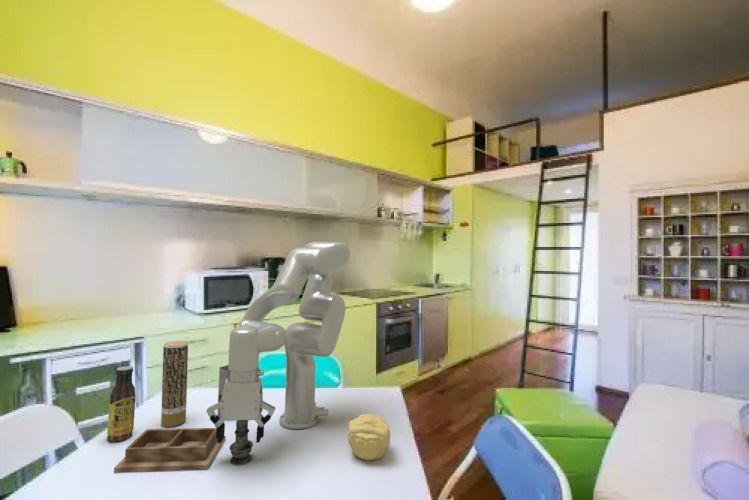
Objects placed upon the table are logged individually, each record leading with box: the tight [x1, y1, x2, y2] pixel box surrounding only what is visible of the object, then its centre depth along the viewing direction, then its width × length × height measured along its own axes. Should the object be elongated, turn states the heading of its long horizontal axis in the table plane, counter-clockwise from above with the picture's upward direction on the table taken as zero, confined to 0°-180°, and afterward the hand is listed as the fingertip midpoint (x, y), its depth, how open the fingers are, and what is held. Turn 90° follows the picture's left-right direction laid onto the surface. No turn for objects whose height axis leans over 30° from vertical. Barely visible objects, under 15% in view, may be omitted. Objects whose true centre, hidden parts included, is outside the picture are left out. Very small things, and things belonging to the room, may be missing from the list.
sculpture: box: [347, 412, 391, 461], centre depth 98 cm, size 12×12×11 cm
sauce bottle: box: [106, 365, 137, 443], centre depth 103 cm, size 7×6×20 cm
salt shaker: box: [229, 420, 254, 466], centre depth 94 cm, size 6×6×12 cm
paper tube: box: [160, 340, 189, 428], centre depth 112 cm, size 7×7×25 cm
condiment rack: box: [113, 427, 226, 473], centre depth 95 cm, size 22×14×4 cm, turn 96°
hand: (240, 440), depth 93 cm, fingers open, 9 cm apart
